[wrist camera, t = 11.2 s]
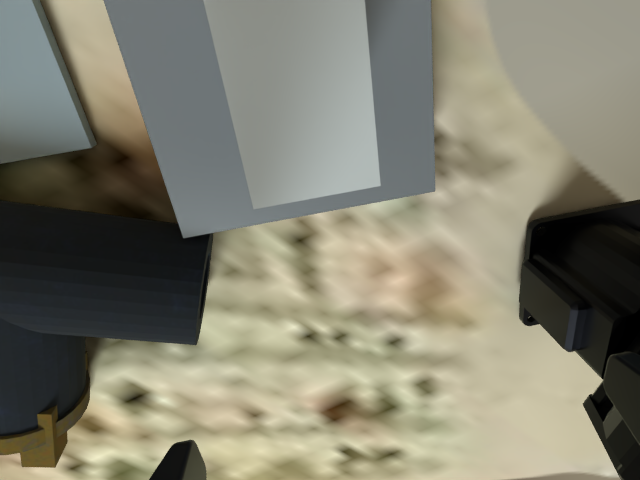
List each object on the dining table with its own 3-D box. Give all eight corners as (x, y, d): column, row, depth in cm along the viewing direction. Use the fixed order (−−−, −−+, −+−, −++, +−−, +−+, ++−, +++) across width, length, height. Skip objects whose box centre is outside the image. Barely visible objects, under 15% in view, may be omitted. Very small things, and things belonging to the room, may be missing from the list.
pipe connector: (179, 482, 19) (-221, 477, 16) (195, 395, 24) (-112, 379, 21) (202, 264, 15) (-346, 201, 12) (216, 210, 20) (-172, 155, 17)
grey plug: (308, -22, 16) (358, -76, 8) (327, 115, 18) (380, 185, 10) (227, -9, 15) (191, -49, 7) (257, 128, 18) (253, 209, 10)
